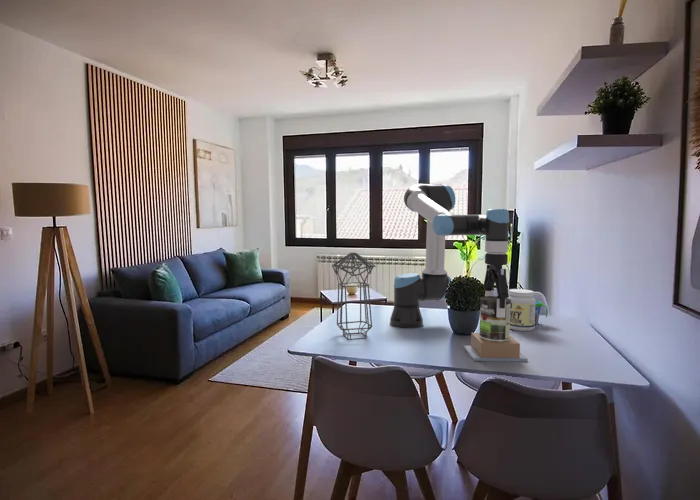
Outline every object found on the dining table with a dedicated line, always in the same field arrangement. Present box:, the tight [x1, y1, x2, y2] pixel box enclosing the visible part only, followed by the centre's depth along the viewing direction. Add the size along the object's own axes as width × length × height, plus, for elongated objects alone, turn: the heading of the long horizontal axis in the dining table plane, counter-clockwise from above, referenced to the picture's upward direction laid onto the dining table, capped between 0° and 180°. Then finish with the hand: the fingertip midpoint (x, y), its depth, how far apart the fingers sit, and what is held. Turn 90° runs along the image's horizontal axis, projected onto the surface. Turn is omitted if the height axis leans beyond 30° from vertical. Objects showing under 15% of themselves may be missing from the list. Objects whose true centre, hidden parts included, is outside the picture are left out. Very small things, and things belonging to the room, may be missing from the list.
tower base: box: [463, 332, 528, 363], centre depth 144 cm, size 18×14×6 cm
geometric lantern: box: [331, 252, 377, 341], centre depth 167 cm, size 16×16×35 cm
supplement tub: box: [508, 288, 537, 332], centre depth 180 cm, size 12×12×17 cm
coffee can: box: [479, 295, 511, 342], centre depth 143 cm, size 10×10×14 cm
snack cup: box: [535, 299, 549, 325], centre depth 190 cm, size 16×10×10 cm
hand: (494, 312), depth 143 cm, fingers open, 13 cm apart
